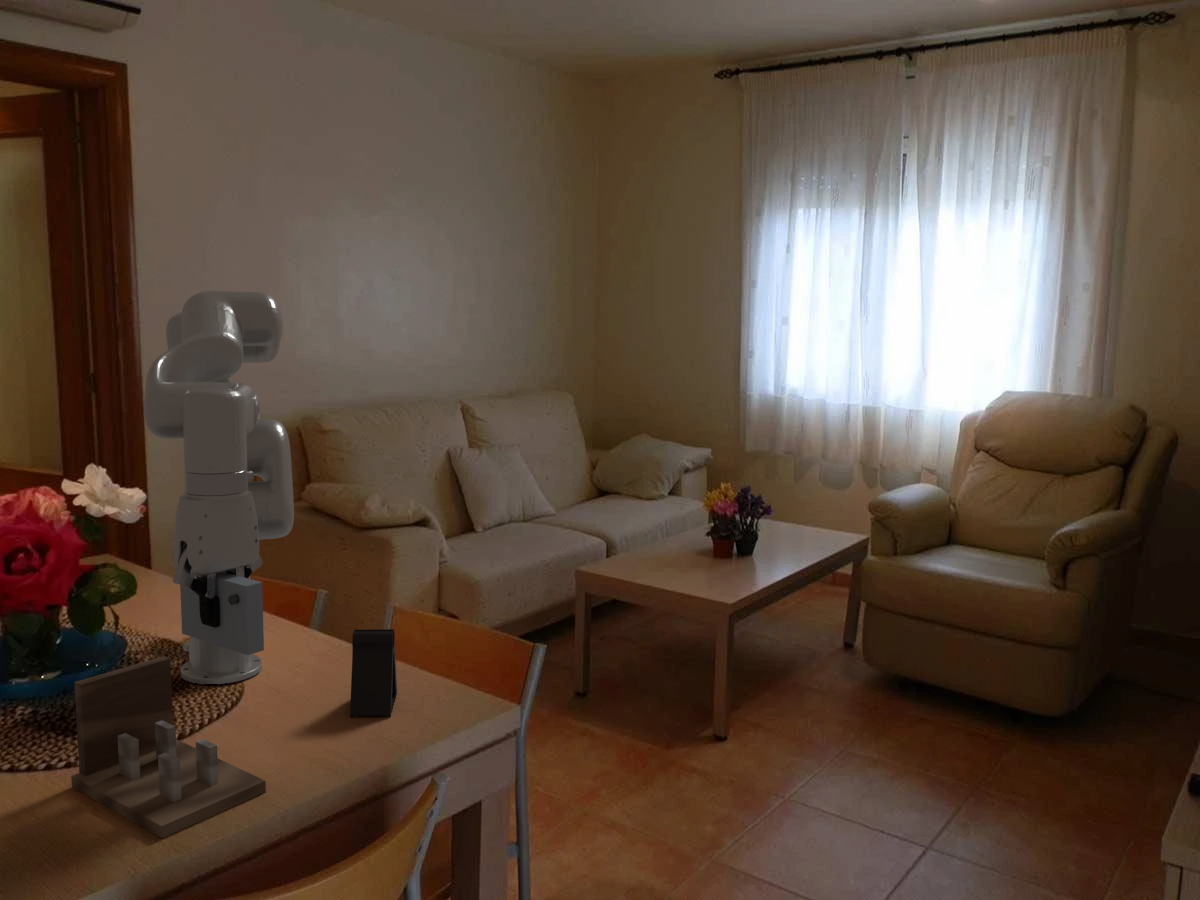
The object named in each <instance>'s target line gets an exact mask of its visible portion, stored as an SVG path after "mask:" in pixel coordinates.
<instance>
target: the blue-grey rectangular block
mask: <svg viewBox="0 0 1200 900" xmlns="http://www.w3.org/2000/svg"><path fill="white" fill-rule="evenodd" d="M190 577H192V578H194V574H193V572H192V570H191V572H190ZM179 586H180V591H179V592H180V613H181V615H180V616H181V617H180V619H181V634H182V635H185V636H188V637H190V636H191V637H194V638H197V639H200V640H203V641H206V642H209V643H212V644H215V645H218V646H221V647H224V648H227V649H230V650H233V651H236V652H239V653H242V654H246V655H251V654H253V655H255V654H256V653H261V652H263V651H265V638H264V637H265V636H264V602H263V601H264V597H263V595H264V594H263V593H264V592H263V581H259V580H255V579H251V578H250V579H248V578H244V577H240V576H237V575H233V574H229V573H225V572H220V573H216V579H215V596H216V597H219V602H220V625H219V627H216V628H214V627H211V626H207V625H204V624H202V622H201V618H200V606H199V595H196V594H195V592H194V591H193V590H192V589H190V588H189V587H187V586H184V585H180V584H179Z"/></svg>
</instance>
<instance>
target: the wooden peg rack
mask: <svg viewBox="0 0 1200 900" xmlns="http://www.w3.org/2000/svg"><path fill="white" fill-rule="evenodd" d="M171 662H172V661H171V658H170V657H167V656H165V655H163V656H160V657H156V658H153V659H149V660H146V661H142V662H140V663H135V664H132V665H129V666H125V667H122V668H119V669H115V670H112V671H108V672H104V673H102V674H98V675H94V676H91V677H87V678H83V679H80V680H76V681H74V695H75V696H74V698H75V717H76V718H75V719H76V720H75V721H76V733H77V735H76V737H77V749H78V750H77V751H78V753H77V754H78V773H75V774H72V775H71V787H72V789H75V790H76V791H78V792H80V793H81V794H83V795H85V796H87V797H88V798H90V799H93V801H96V802H97V803H99V804H101V805H102V806H105V807H107V808H108V809H110V810H111V811H114V812H115V813H117V814H118V815H120V816H122V817H124V818H125V819H127V820H128V821H131V822H132V821H133V822H132V823H134V824H136V825H138V826H139V827H141V828H143V829H144V830H147V831H148V832H150V833H151V834H154V835H155V836H157V837H158V838H159V839H160V838H161V839H164V838H167V837H168V836H171V835H174V834H175V833H177V832H180V831H183V830H184V829H187V828H189V827H190V826H194V825H196V824H197V823H198V824H199V823H200V822H202V821H204V820H207V819H208V818H209V819H210V818H211V817H213V816H215V815H218V814H219V813H222V812H224V811H227V810H228V809H231V808H234V807H235V806H237V805H240V804H242V803H245V802H247V801H250V799H253V798H255V797H257V796H261V795H262V794H264V793H266V792H267V789H266V787H267V786H266V785H267V784H266V780H265V779H263V778H261V777H260V776H259V777H258V776H256V775H254V774H252V773H250V772H248V771H246V770H243V769H241V768H239V767H238V766H235V765H233V764H231V763H228V762H227V761H225V760H222V759H220V758H218V745H217V744H215V743H213V742H211V741H209V740H206V739H204V738H202V739H198V740H196V741H195V747H194V746H193V745H190V744H188V743H185V742H184V741H181V740H178V739H177V738H176V736H177V733H176V726H175V725H174V717H173V716H174V715H173V692H172V690H173V689H172V669H171V667H172V665H171Z"/></svg>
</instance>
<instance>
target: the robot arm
mask: <svg viewBox="0 0 1200 900" xmlns="http://www.w3.org/2000/svg"><path fill="white" fill-rule="evenodd" d="M283 324H284V323H283V317H282V312H281V309H280V306H279V304H278V302H277V301H276V300H275V299H274V297H273V296H271V295H270V294H269V293H266V292H260V291H235V290H232V291H230V290H227V291H226V290H207V291H200V292H197V293H195V294H193V295H192V296H190V297H189V298H188V299H187V300H186V301H185V303H184V305H183V307H182V309H181V312H180V313H176V314H175V315H173V316H172V317H170V318H169V319H168V321H167V324H166V329H165V331H166V332H165V337H166V338H165V339H166V344H167V349H168V350H167V351H164V352H163V353H162V354H160V355H159V356H158V357H156V358H155V360H154V361H153V362H152V363H151V365H150V367H149V369H148V371H147V373H146V379H145V387H144V400H143V401H144V402H143V415H144V420H145V423H146V426H147V428H148V430H149V431H150V432H151V433H152V435H154V436H155V437H158V438H161V439H167V440H171V439H172V440H173V439H183V456H184V459H183V460H184V463H183V464H184V485H185V487H184V488H185V489H184V490H185V491H184V492H183V494H182V495H181V496H179V498H178V503H177V506H176V513H175V518H174V519H175V521H174V531H173V554H172V555H173V556H172V557H173V567H174V569H175V573H174V575H173V577H172V582H173V583H174V584H177V585H179V586H180V585H184V586H187V587H189V588H190V589H192V590H193V591H194V592H195V594H196V595H199V606H200V618H201V622H202V624H204V625H207V626H211V627H214V628H216V627H219V625H220V602H219V597H216V596H215V579H216V573H220V572H225V573H229V574H233V575H237V576H240V577H244V578H248V579H251V575H252V573H254V572H255V571H257V570H258V569H259V568H260V567H262V566H263V564H264V561H263V559H262V557H261V555H260V540H270V539H271V540H272V539H280V538H284V537H286V536H288V535H289V534H290V533H291V531H292V530H293V527H294V521H295V509H294V508H295V507H294V505H295V503H294V502H295V501H294V489H293V488H294V487H293V486H294V485H293V473H292V472H293V470H292V469H293V468H292V456H291V455H292V454H291V445H290V439H289V435H288V431H287V429H286V427H285V425H284V424H283V423H282V422H280V421H278V420H276V419H273V418H260V410H261V409H260V407H261V406H260V400H259V397H258V395H257V394H256V393H255V392H254V391H253V389H252V387H250V386H249V385H247V384H245V383H243V382H236V381H235V382H234V381H232V380H231V379H230V378H232V377H233V376H235V374H237V372H238V371H239V370H240V368H241V367H242V366H243V365H242V364H244V363H245V364H246V363H247V364H249V363H250V364H251V363H252V364H253V363H256V364H257V363H258V364H259V363H261V364H262V363H269V362H271V361H273V360H274V359H275V358H276V357H277V355H278V353H279V349H280V344H281V341H282V336H283ZM255 476H256V477H260V479H262V481H261V480H260V481H252V480H254V477H255ZM191 570H192V572H193V574H194V578H192V577H190V572H191ZM182 649H183V650H184V651H186V652H188V658H189V660H188V661H186V662H185V663H184V664H183V665H182V666H181V667H180V676H181V678H182V680H184V681H186V682H188V681H189V682H188V683H191V682H192V683H191V684H195V683H197V684H196V685H204V684H217V685H224V684H225V683H227V684H233V683H237V682H241V681H244V680H247V679H250V678H252V677H253V676H256V675H257V674H258V673H260V672H261V670H262V669H263V661H262V659H261V658H260V656H258V655H256V654H251V655H246V654H242V653H239V652H236V651H233V650H230V649H227V648H224V647H221V646H218V645H215V644H212V643H209V642H206V641H203V640H200V639H197V638H194V637H191V636H189V642H184V643H183V645H182ZM198 683H199V684H198ZM225 685H226V684H225Z"/></svg>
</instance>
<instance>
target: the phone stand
mask: <svg viewBox="0 0 1200 900" xmlns="http://www.w3.org/2000/svg"><path fill="white" fill-rule="evenodd" d="M395 633H396V632H395V629H393V628H392V629H353V632H352V637H351V638H352V640H351V642H352V644H351V645H352V656H351V657H352V659H351V679H350V681H351V682H350V705H349V706H350V707H349V717H350V718H391V717H392V714H391V713H393V709H394V707H395V704H394V703H396V700H395V699H397V697H396V695H397V696H398V686H397V684H398V683H397V682H398V681H397V667H396V665H397V664H396V661H397V660H396V648H395V647H396V645H395V641H396V640H395V637H396V635H395ZM393 706H394V707H393Z"/></svg>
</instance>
